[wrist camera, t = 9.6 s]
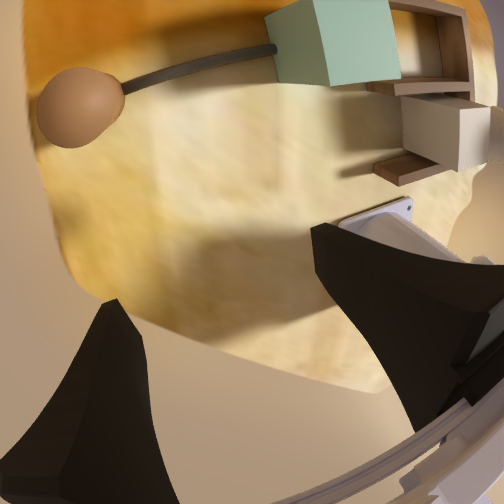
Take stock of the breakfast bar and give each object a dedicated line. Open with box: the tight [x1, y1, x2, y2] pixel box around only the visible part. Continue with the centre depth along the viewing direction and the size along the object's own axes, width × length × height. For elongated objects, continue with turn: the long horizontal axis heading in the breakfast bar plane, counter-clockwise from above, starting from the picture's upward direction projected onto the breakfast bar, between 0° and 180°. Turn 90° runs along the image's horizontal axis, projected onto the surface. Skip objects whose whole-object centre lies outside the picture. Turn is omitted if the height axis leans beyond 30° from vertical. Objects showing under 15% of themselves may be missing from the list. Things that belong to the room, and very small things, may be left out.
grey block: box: [400, 93, 490, 172], centre depth 18 cm, size 4×4×6 cm
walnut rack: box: [366, 0, 475, 187], centre depth 18 cm, size 14×10×3 cm
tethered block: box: [37, 0, 401, 148], centre depth 12 cm, size 4×17×6 cm, turn 103°
